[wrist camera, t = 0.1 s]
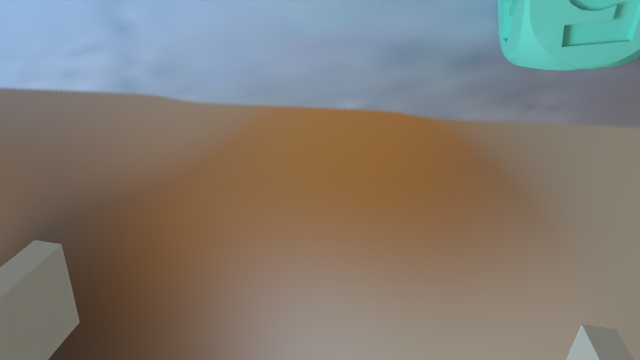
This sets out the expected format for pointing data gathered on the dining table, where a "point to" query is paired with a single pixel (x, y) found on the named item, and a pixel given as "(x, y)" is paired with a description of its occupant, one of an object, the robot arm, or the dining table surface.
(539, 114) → the dining table surface
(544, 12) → the decorative dice
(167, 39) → the dining table surface
